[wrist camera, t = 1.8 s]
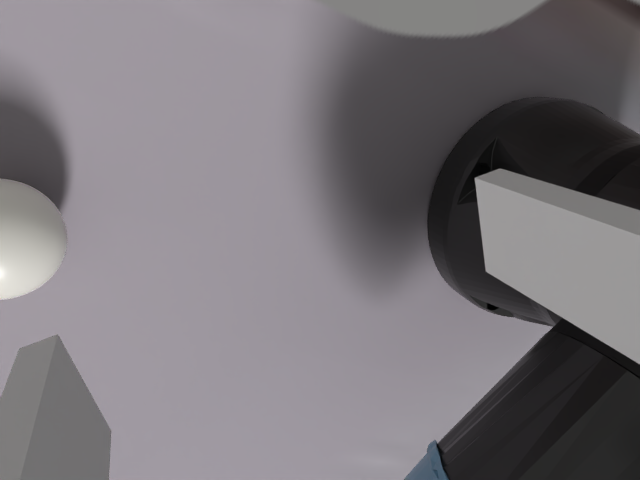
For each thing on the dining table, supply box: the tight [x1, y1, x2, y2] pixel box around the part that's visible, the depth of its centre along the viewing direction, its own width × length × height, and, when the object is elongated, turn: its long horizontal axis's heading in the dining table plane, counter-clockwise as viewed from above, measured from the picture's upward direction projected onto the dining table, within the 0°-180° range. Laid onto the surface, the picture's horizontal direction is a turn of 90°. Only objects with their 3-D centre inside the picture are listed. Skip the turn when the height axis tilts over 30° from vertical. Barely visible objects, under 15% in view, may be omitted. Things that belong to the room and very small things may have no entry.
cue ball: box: [0, 178, 67, 300], centre depth 23 cm, size 6×6×6 cm
